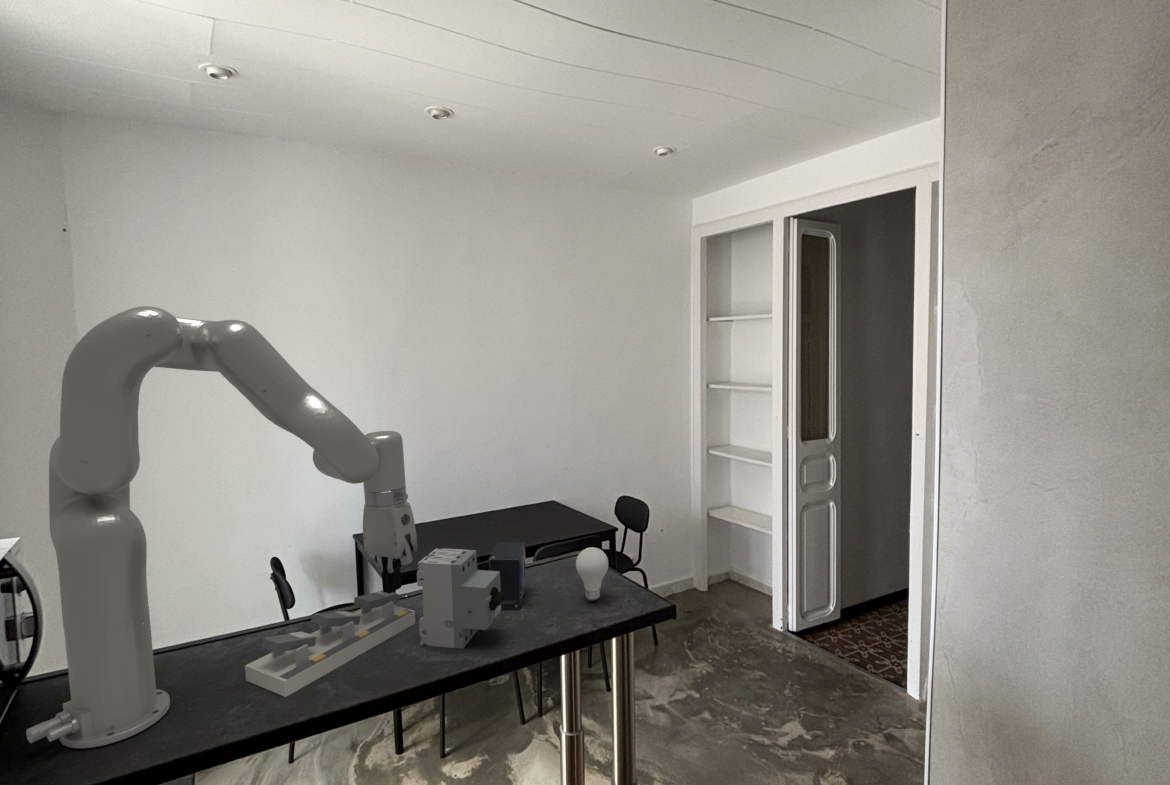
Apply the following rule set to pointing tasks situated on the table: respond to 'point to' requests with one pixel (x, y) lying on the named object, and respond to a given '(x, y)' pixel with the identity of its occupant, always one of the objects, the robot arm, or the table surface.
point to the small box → (510, 572)
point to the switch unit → (328, 649)
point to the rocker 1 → (288, 641)
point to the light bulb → (592, 570)
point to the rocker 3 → (375, 599)
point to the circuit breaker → (456, 597)
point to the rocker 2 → (335, 619)
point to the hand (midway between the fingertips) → (392, 589)
